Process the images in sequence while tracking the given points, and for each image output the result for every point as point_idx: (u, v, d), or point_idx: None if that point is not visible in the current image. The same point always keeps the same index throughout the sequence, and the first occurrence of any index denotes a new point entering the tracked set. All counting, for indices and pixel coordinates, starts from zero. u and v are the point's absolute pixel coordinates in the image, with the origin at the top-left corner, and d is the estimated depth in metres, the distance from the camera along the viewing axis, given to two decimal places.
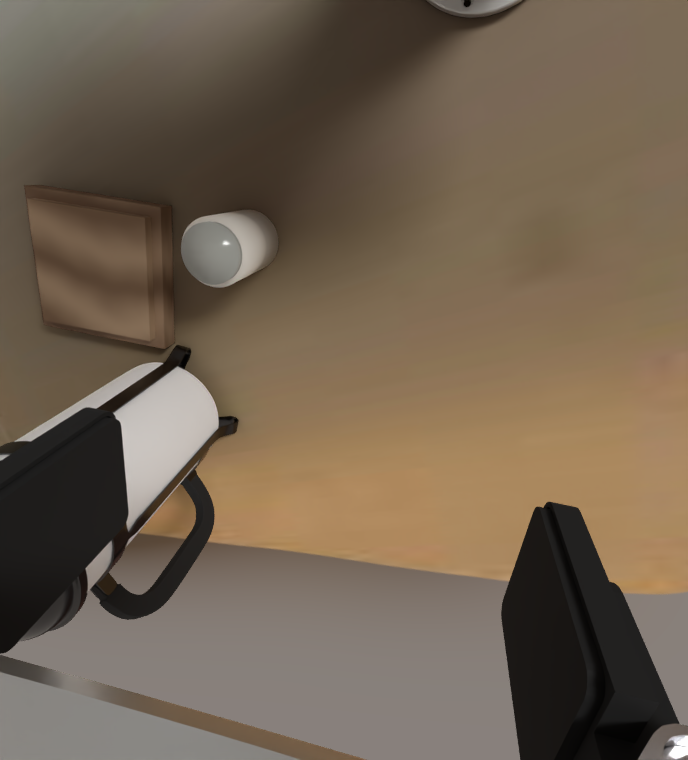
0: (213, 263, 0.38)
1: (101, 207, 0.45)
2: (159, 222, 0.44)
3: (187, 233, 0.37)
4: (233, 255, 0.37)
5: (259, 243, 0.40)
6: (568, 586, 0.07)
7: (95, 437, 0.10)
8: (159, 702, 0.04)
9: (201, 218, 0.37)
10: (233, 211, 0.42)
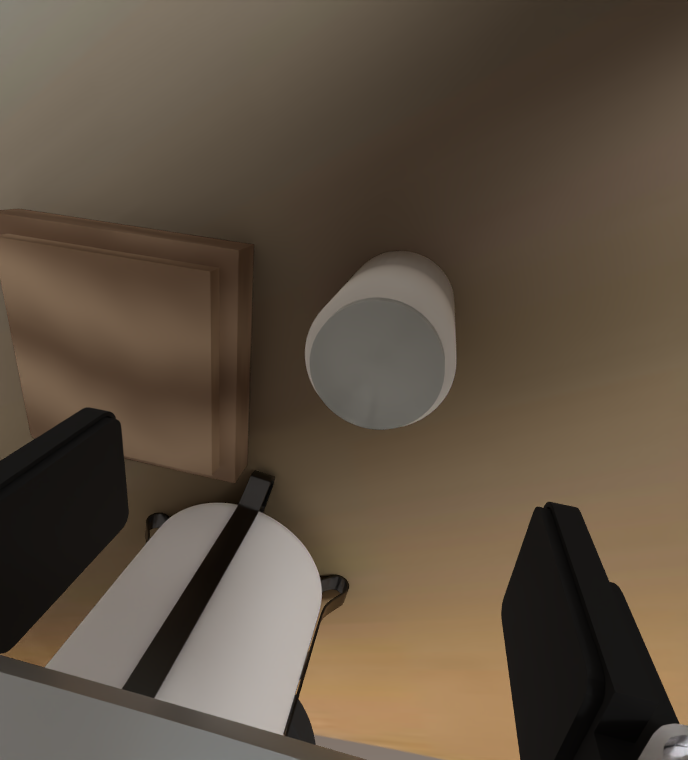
0: (382, 388, 0.17)
1: (127, 250, 0.24)
2: (235, 277, 0.24)
3: (328, 326, 0.17)
4: (432, 374, 0.16)
5: None
6: (568, 586, 0.07)
7: (95, 437, 0.10)
8: (159, 703, 0.04)
9: (358, 291, 0.17)
10: (388, 260, 0.21)
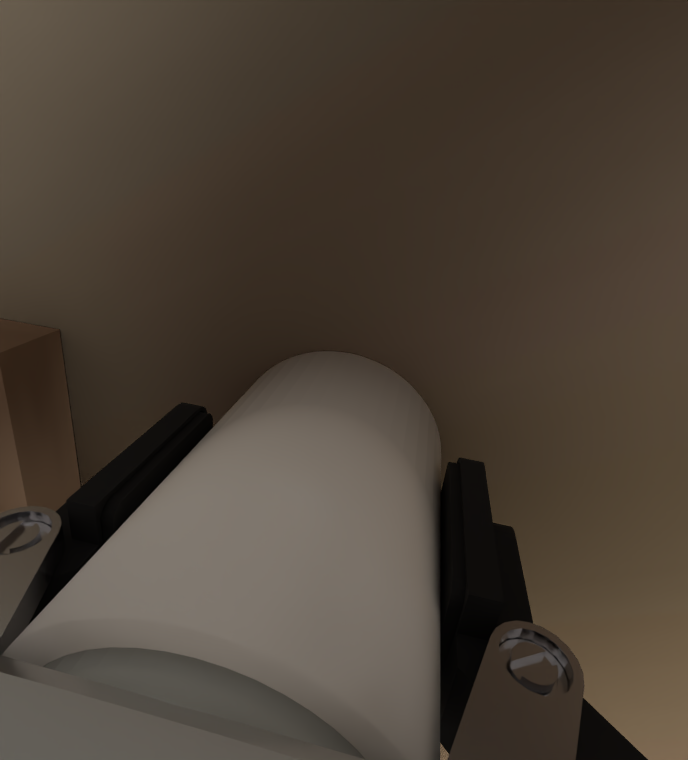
0: None
1: None
2: (3, 403, 0.12)
3: None
4: None
5: (440, 603, 0.08)
6: (456, 521, 0.08)
7: (195, 430, 0.10)
8: (159, 702, 0.04)
9: (94, 626, 0.05)
10: (289, 394, 0.09)
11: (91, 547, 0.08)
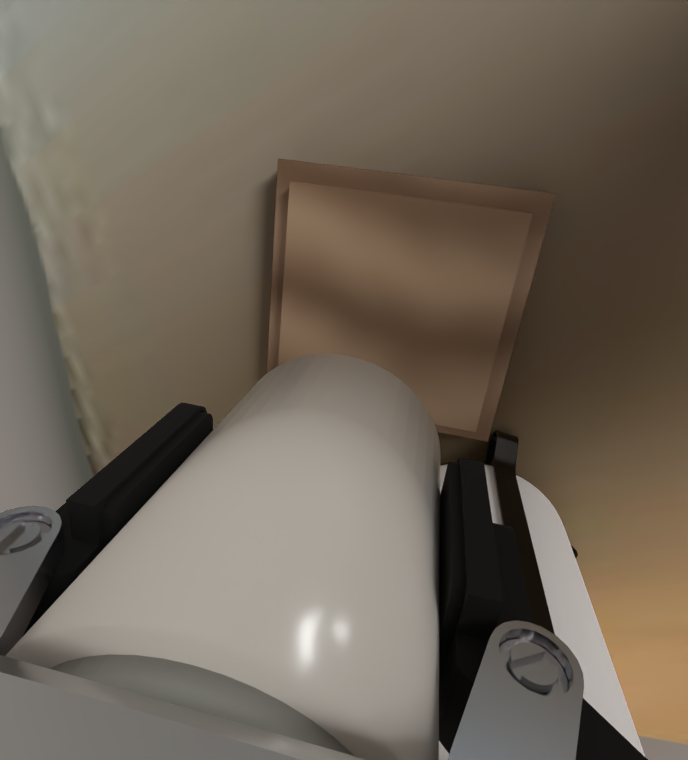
0: None
1: (428, 196, 0.24)
2: (544, 222, 0.24)
3: None
4: None
5: (438, 607, 0.08)
6: (456, 521, 0.08)
7: (195, 430, 0.10)
8: (159, 702, 0.04)
9: (93, 633, 0.05)
10: (288, 398, 0.09)
11: (91, 547, 0.08)
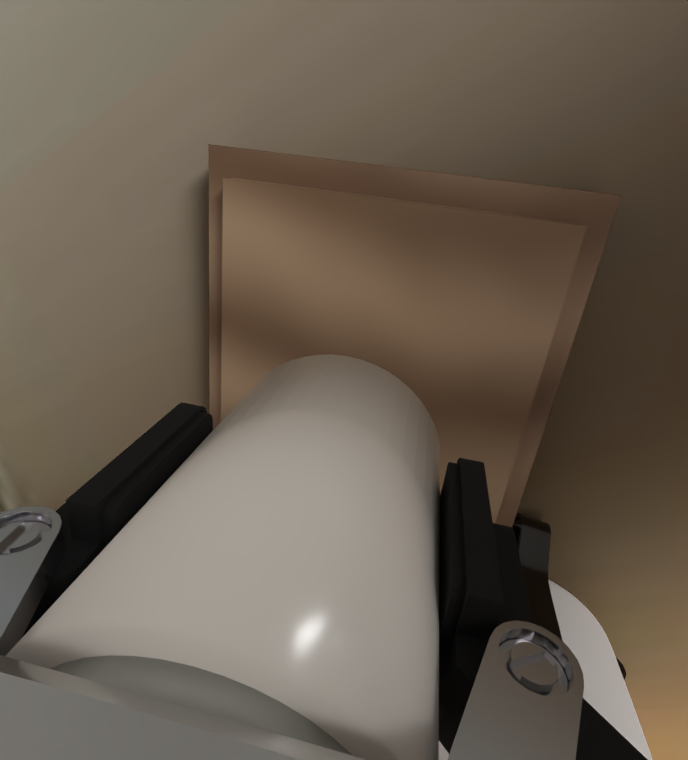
0: None
1: (427, 199, 0.16)
2: (601, 238, 0.16)
3: None
4: None
5: (438, 608, 0.08)
6: (455, 521, 0.08)
7: (195, 430, 0.10)
8: (159, 702, 0.04)
9: (92, 634, 0.05)
10: (288, 398, 0.09)
11: (91, 547, 0.08)
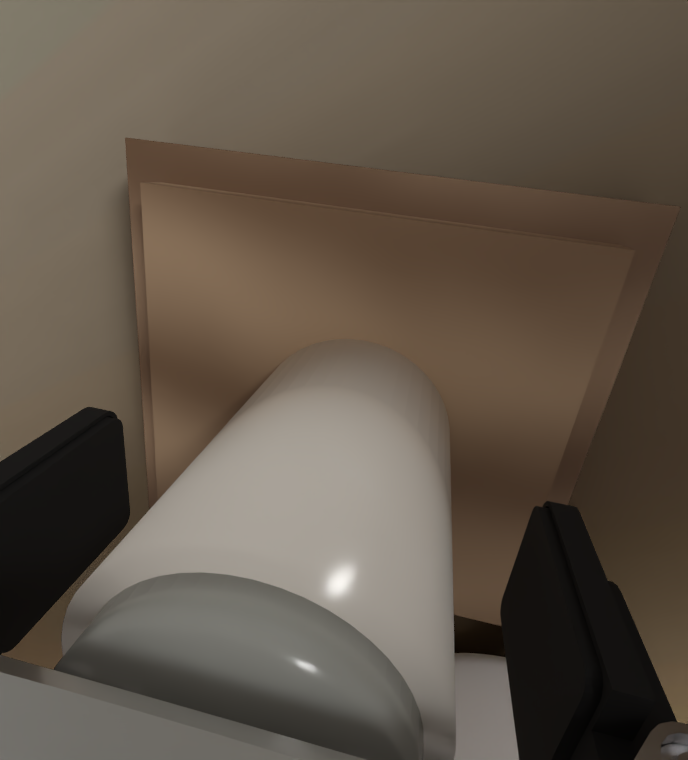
0: None
1: (415, 211, 0.12)
2: (650, 265, 0.12)
3: (74, 663, 0.06)
4: None
5: (451, 559, 0.09)
6: (566, 585, 0.07)
7: (97, 437, 0.10)
8: (159, 702, 0.04)
9: (168, 553, 0.06)
10: (313, 375, 0.10)
11: None
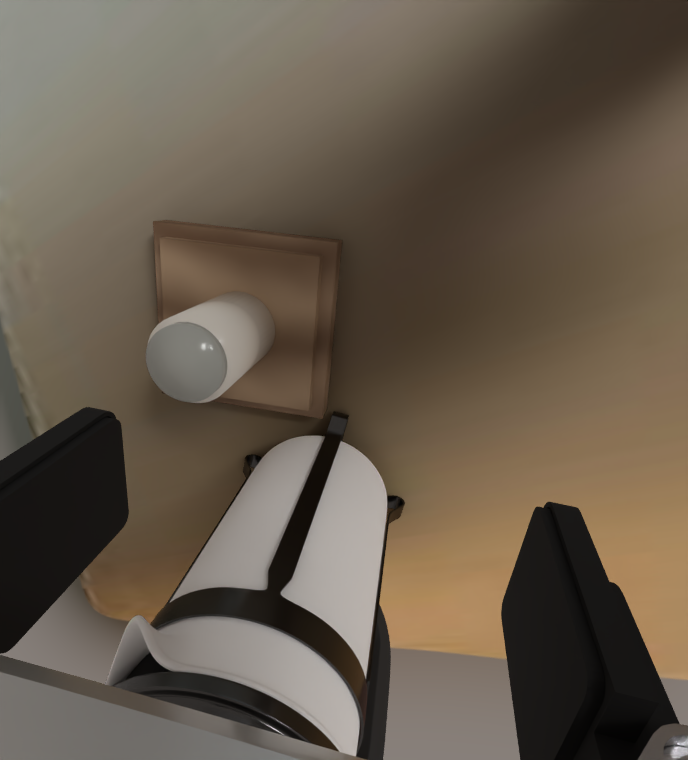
0: (189, 376, 0.28)
1: (256, 245, 0.35)
2: (333, 261, 0.34)
3: (153, 338, 0.28)
4: (215, 366, 0.28)
5: (250, 342, 0.31)
6: (568, 586, 0.07)
7: (95, 437, 0.10)
8: (159, 702, 0.04)
9: (172, 318, 0.28)
10: (217, 298, 0.33)
11: None
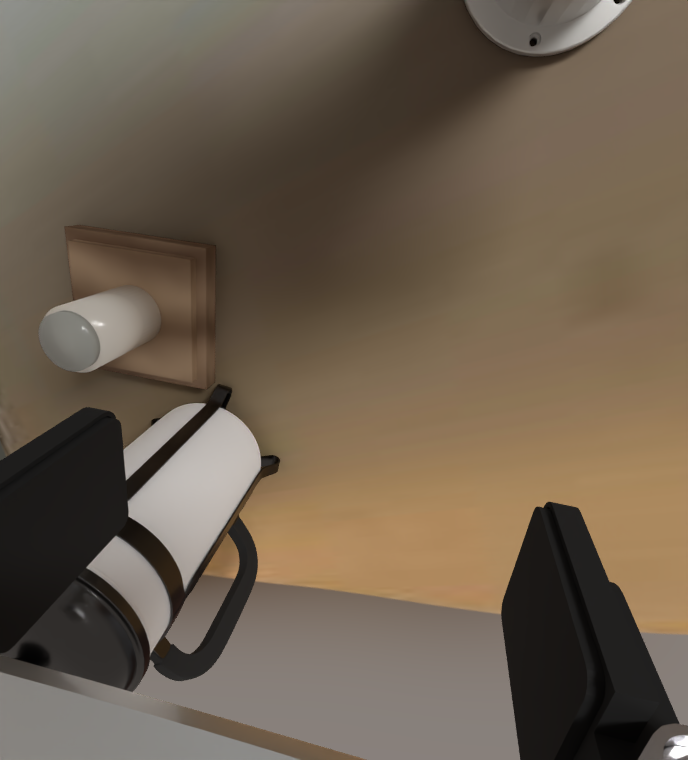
0: (70, 351, 0.38)
1: (144, 248, 0.44)
2: (204, 263, 0.43)
3: (43, 322, 0.37)
4: (88, 346, 0.37)
5: (126, 327, 0.40)
6: (568, 586, 0.07)
7: (95, 437, 0.10)
8: (159, 702, 0.04)
9: (58, 307, 0.37)
10: (108, 290, 0.42)
11: None
